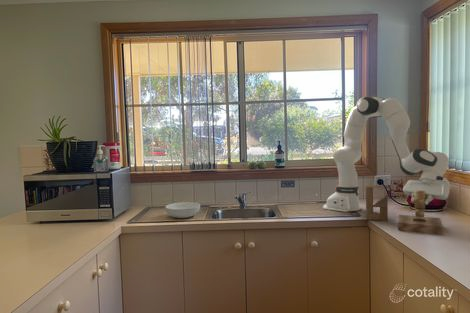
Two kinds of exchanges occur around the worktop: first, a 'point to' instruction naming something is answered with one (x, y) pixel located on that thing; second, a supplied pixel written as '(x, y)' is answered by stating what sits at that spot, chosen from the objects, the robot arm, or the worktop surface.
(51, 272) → the worktop surface
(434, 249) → the worktop surface
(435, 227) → the board
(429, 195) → the robot arm
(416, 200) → the peg
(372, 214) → the wooden braced stand
